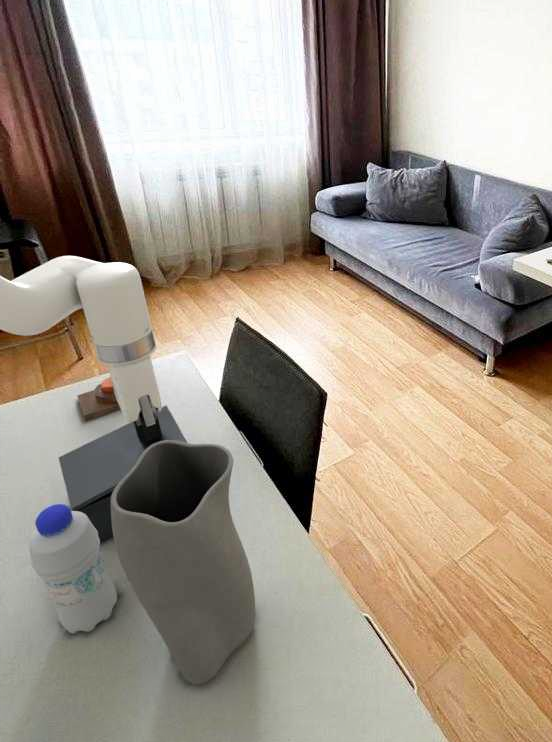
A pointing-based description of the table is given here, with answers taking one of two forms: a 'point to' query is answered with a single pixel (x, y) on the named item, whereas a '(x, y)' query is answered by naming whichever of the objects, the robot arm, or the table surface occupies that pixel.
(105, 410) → the block
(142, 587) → the vase
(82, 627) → the bottle
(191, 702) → the table surface
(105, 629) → the table surface
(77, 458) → the lid
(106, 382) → the button
